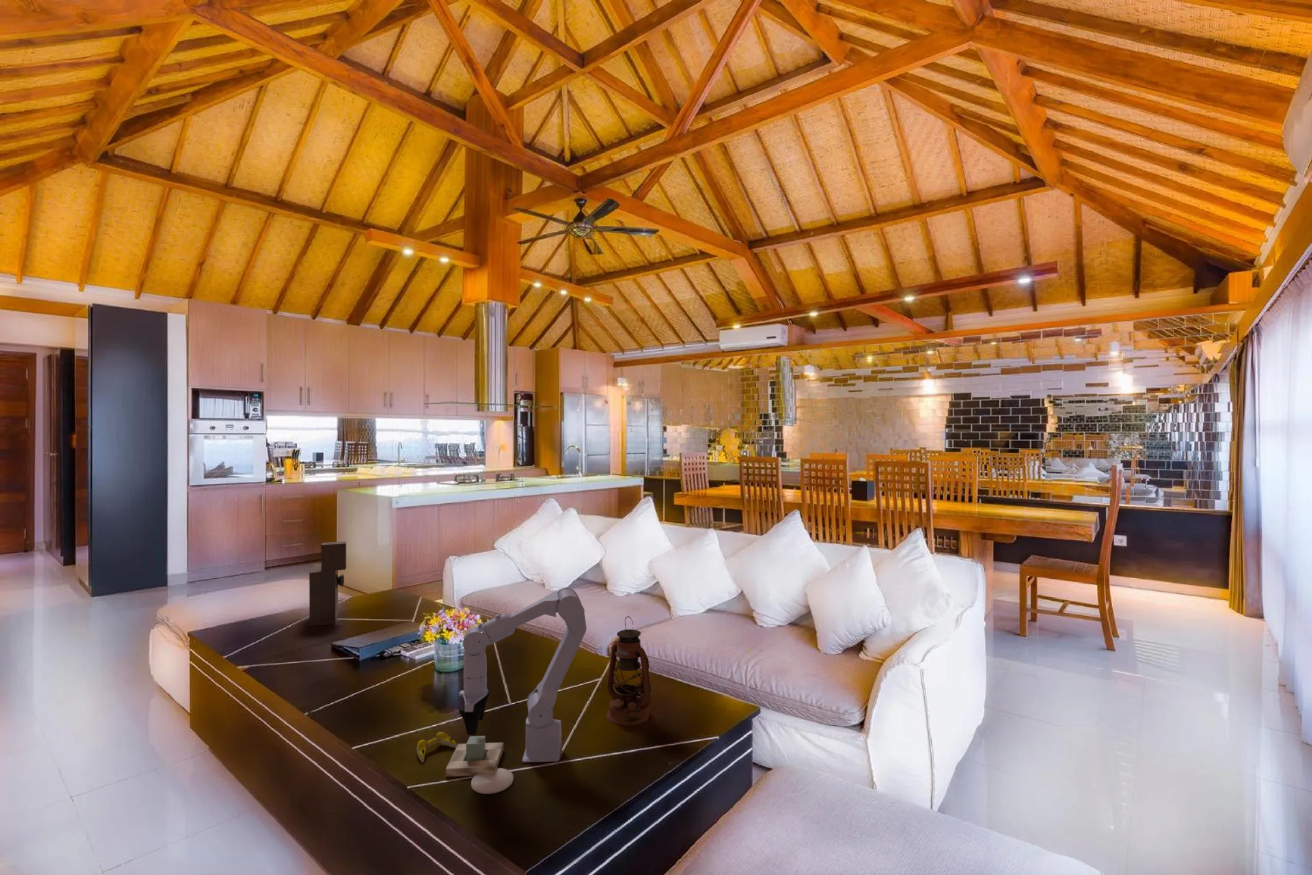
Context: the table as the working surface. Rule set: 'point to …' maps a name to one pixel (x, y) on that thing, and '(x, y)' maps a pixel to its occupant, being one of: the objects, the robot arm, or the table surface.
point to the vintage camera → (326, 584)
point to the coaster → (492, 781)
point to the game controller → (440, 738)
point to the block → (475, 748)
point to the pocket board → (472, 768)
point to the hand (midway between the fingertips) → (475, 726)
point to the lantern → (626, 698)
